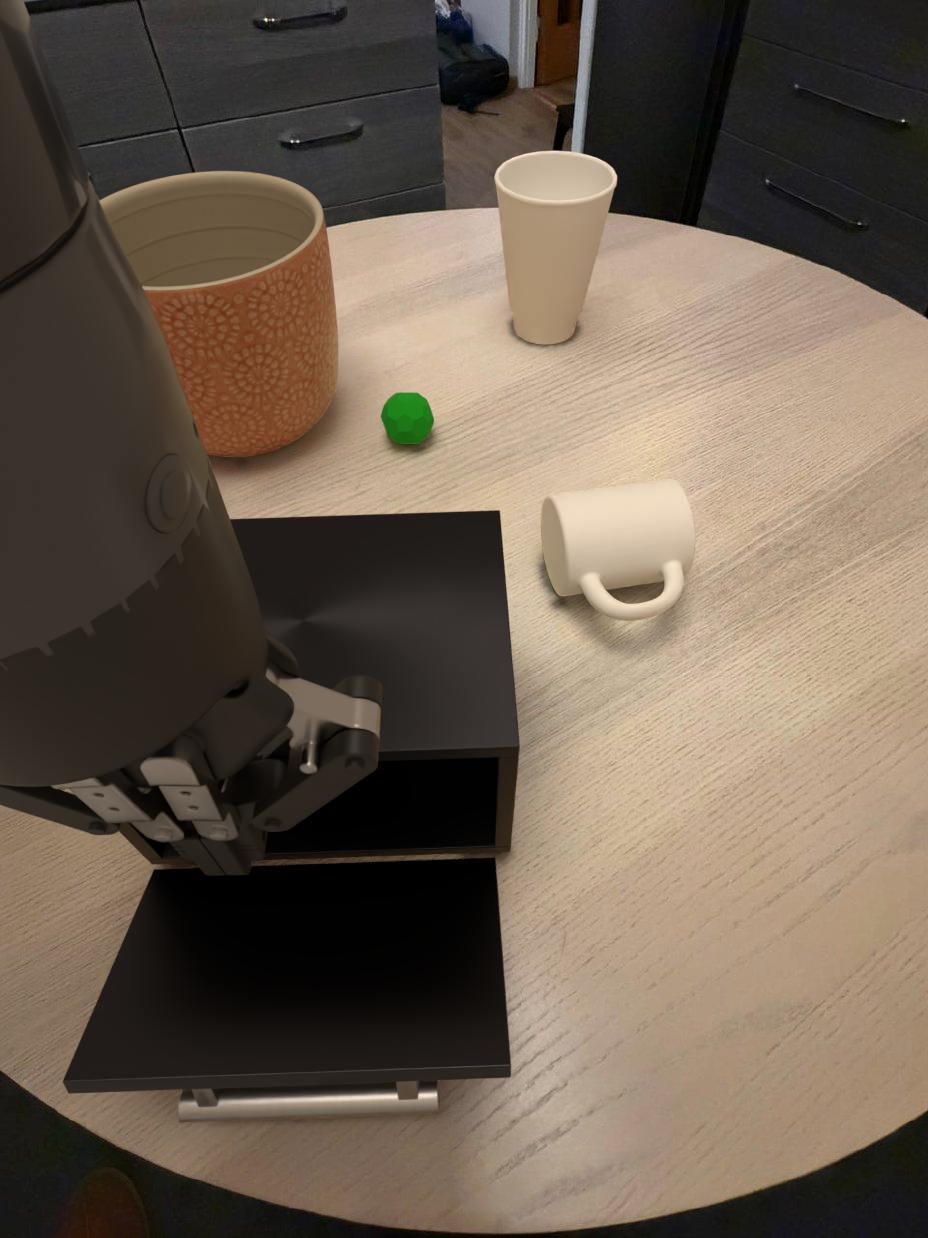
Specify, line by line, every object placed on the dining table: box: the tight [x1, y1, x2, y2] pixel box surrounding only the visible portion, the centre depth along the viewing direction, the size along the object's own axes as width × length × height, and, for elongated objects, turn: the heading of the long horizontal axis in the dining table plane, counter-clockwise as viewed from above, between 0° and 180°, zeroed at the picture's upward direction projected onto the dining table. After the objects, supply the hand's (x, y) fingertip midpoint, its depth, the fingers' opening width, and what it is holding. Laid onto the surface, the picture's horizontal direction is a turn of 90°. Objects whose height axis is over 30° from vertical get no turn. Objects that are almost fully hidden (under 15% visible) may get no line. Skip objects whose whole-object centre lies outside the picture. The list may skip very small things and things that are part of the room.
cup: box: [493, 150, 618, 345], centre depth 78 cm, size 12×12×16 cm
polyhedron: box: [380, 391, 435, 445], centre depth 71 cm, size 5×5×5 cm
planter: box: [99, 170, 339, 458], centre depth 68 cm, size 21×21×19 cm
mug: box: [540, 477, 697, 622], centre depth 57 cm, size 12×10×8 cm
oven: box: [118, 509, 521, 866], centre depth 46 cm, size 22×16×15 cm
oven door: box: [62, 856, 512, 1124], centre depth 40 cm, size 20×7×12 cm
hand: (233, 848), depth 27 cm, fingers closed
